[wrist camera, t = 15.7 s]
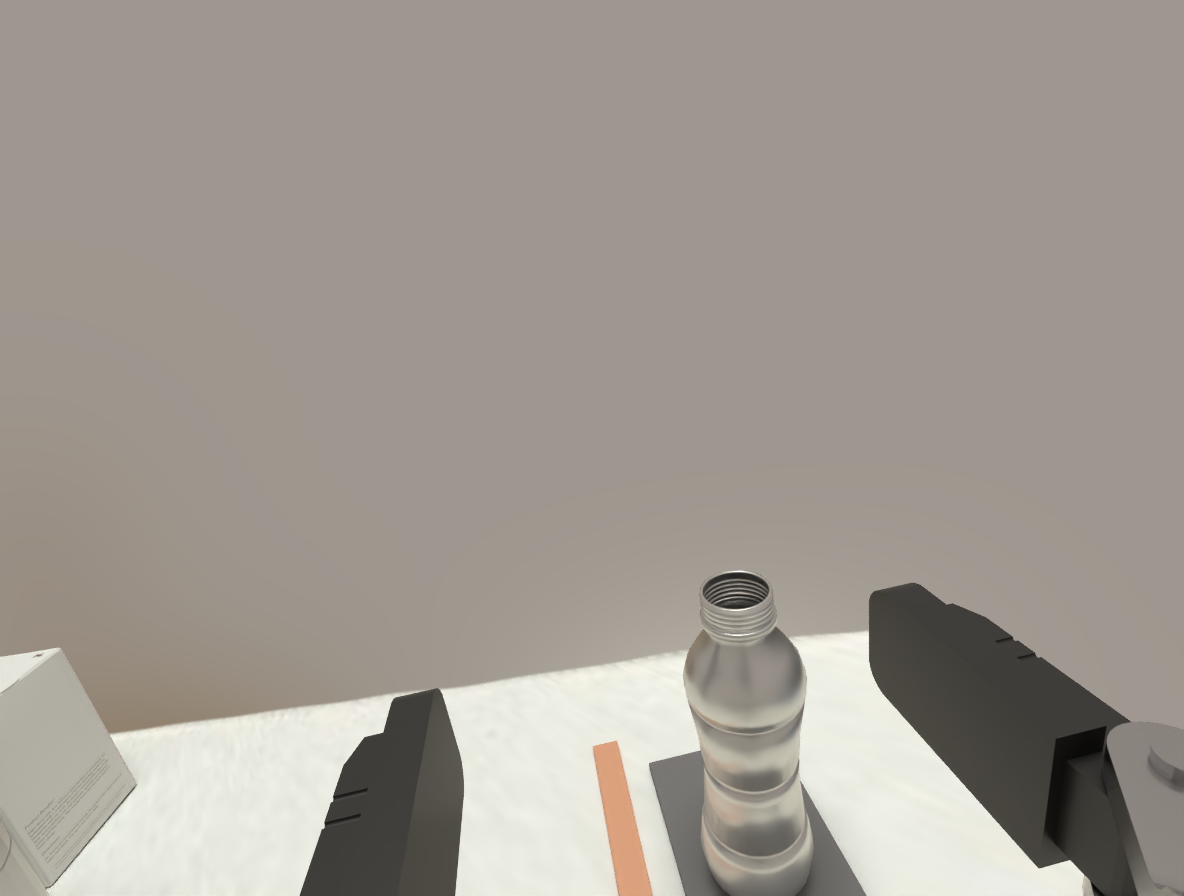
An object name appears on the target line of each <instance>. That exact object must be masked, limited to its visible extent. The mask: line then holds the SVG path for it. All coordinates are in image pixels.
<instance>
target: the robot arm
mask: <svg viewBox="0 0 1184 896" xmlns="http://www.w3.org/2000/svg"><path fill="white" fill-rule="evenodd" d="M869 662H870V667H871V671H872V674H873V677H874V679H875V681H876V683H877V685H878V687H879V689H880V690H881V692H882V693H883V694H884V696H885V697H886V698H887V699H888V700H889V701H890V702H891V703H892V705H893V706H894V707H895V708H896V709H897V710H898V711H899V712H900V714H901V715H902V716H903V717H904V718H905V719H906V720H907V721H908V723H909V724H910V725H911V726H912V727H913V728H914V729H915V730H916V731H917V733H918V734H919V735H920V736H921V737H922V738H923V739H924V740H925V742H926V743H927V744H928V745H929V746H930V747H931V748H932V749H933V751H934V752H935V753H936V754H937V755H938V756H939V757H940V758H941V759H942V761H943V762H944V763H945V764H946V765H947V766H948V767H949V768H950V770H951V771H952V772H953V773H954V774H955V775H956V776H957V777H958V779H959V780H960V781H961V782H962V783H963V784H964V785H965V786H966V788H967V789H968V790H969V791H970V792H971V793H972V794H973V795H974V796H975V798H976V799H977V800H978V801H979V802H980V803H981V804H982V805H983V807H984V808H985V809H986V810H987V811H988V812H989V813H990V814H991V816H992V817H993V818H994V819H995V820H996V821H997V822H998V823H999V824H1000V826H1001V827H1002V828H1003V829H1004V830H1005V831H1006V832H1007V833H1008V835H1009V836H1010V837H1011V838H1012V839H1013V840H1014V841H1015V842H1016V844H1017V845H1018V846H1019V847H1020V848H1021V849H1022V850H1023V851H1024V852H1025V854H1026V855H1027V856H1028V857H1029V858H1030V859H1031V860H1032V861H1033V863H1034V864H1035V865H1036V866H1037V867H1038V868H1042V867H1046V866H1050V865H1053V864H1057V863H1060V862H1064V861H1068V860H1071V861H1072V862H1073V863H1074V864H1075V865H1076V866H1077V868H1078V869H1079V870H1080V871H1081V872H1082V873H1083V874H1084V879H1083V886H1082V888H1083V896H1184V730H1182V729H1179V728H1176V727H1172V726H1168V725H1164V724H1158V723H1151V722H1131V721H1129V720H1128V719H1126V718H1125V717H1124V716H1122V715H1121V714H1119V713H1118V712H1117V711H1115V710H1114V709H1112V708H1111V707H1110V706H1108V705H1107V704H1106V703H1104V702H1103V701H1101V700H1100V699H1099V698H1097V697H1096V696H1094V695H1093V694H1092V693H1090V692H1089V691H1087V690H1086V689H1085V688H1083V687H1082V686H1081V685H1079V684H1078V683H1076V682H1075V681H1074V680H1072V679H1071V678H1069V677H1068V676H1067V675H1065V674H1064V673H1062V672H1061V671H1060V670H1058V669H1057V668H1055V667H1054V666H1052V665H1051V664H1050V663H1048V662H1047V661H1046V660H1044V659H1043V658H1041V657H1040V658H1038V657H1037V656H1036V655H1035V652H1033V651H1032V650H1030V649H1029V648H1027V647H1026V646H1024V645H1023V644H1022V643H1021V642H1019V641H1014V640H1013V637H1012V636H1011V635H1010V634H1008V633H1007V632H1005V631H1004V630H1003V629H1001V628H1000V627H998V626H997V625H996V624H994V623H993V622H991V621H990V620H989V619H987V618H986V617H984V616H981V615H979V614H976V613H974V612H972V611H969V610H967V609H965V608H962V607H960V606H957V605H955V604H948V605H946V604H945V603H944V602H942V601H941V600H940V599H938V598H937V597H936V596H934V595H933V594H932V593H930V592H929V591H928V590H926V589H925V588H924V587H922V586H921V585H919V584H916V583H909V584H904V585H900V586H895V587H891V588H887V589H882V590H878V591H874V592H873V593H872V594H871V596H870V599H869ZM463 797H464V779H463V768H462V762H461V757H460V753H459V749H458V746H457V743H456V739H455V736H454V732H453V729H452V726H451V722H450V719H449V715H448V712H447V709H446V705H445V702H444V698H443V695H442V693H441V691H440V690H439V689H438V688H436V689H432V690H427V691H423V692H418V693H414V694H410V695H405V696H401V697H396V698H394V699H393V701H392V703H391V707H390V710H389V714H388V717H387V721H386V725H385V728H384V732H383V733H381V734H376V735H372V736H368V737H364V739H363V740H362V741H361V743H360V744H359V745H358V747H357V748H356V750H355V751H354V752H353V754H352V755H351V756H350V758H349V759H348V760H347V762H346V763H345V764H344V766H343V768H342V771H341V774H340V777H339V780H338V783H337V786H336V789H335V792H334V795H333V799H334V800H333V802H331V804H330V807H329V810H328V813H327V816H326V819H325V822H324V823H325V828H324V829H322V831H321V834H320V837H319V840H318V843H317V846H316V849H315V852H314V855H313V858H312V860H311V863H310V866H309V869H308V872H307V875H306V878H305V881H304V884H303V887H302V890H301V893H300V896H455V890H456V878H457V867H458V855H459V844H460V832H461V821H462V809H463ZM0 896H50V895H49V894H48V892H47V891H46V889H45V887H44V886H43V884H42V883H41V881H40V880H39V878H38V877H37V875H36V874H35V872H34V871H33V869H32V868H31V866H30V865H29V863H28V862H27V860H26V858H25V857H24V855H23V854H22V852H21V851H20V849H19V848H18V846H17V845H16V843H15V842H14V840H13V839H12V837H11V836H10V834H9V833H8V831H7V830H6V829H5V827H4V826H3V824H2V823H1V821H0Z"/></svg>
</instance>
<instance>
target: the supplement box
mask: <svg viewBox="0 0 1184 896" xmlns="http://www.w3.org/2000/svg"><path fill="white" fill-rule="evenodd" d="M135 785H136V781H135V780H134V778H133V776H132V774H131V772H130V771H129V769H128V767H127V765H126V764H125V762H124V760H123V758H122V756H121V755H120V753H119V751H118V749H117V748H116V746H115V744H114V742H113V740H112V738H111V737H110V735H109V733H108V732H107V730H106V728H105V726H104V724H103V723H102V721H101V719H100V717H99V715H98V714H97V712H96V710H95V708H94V707H93V705H92V703H91V701H90V700H89V698H88V696H87V695H86V692H85V691H84V689H83V687H82V685H81V683H80V682H79V680H78V678H77V676H76V674H75V673H74V671H73V669H72V667H71V665H70V664H69V662H68V660H67V658H66V656H65V655H64V653H63V651H62V649H61V648H54V649H48V650H42V651H36V652H31V653H25V654H18V655H11V656H4V657H0V821H1V823H2V824H3V826H4V827H5V829H6V830H7V831H8V833H9V834H10V836H11V837H12V839H13V840H14V842H15V843H16V845H17V846H18V848H19V849H20V851H21V852H22V854H23V855H24V857H25V858H26V860H27V862H28V863H29V865H30V866H31V868H32V869H33V871H34V872H35V874H36V875H37V877H38V878H39V880H40V881H41V883H42V884H43V886H44V887H49V886H51V885H52V884H53V883H54V882H55V881H56V880H57V879H58V877H59V876H60V875H61V874H62V873H63V871H64V870H65V869H66V868H67V867H68V865H69V864H70V863H71V862H72V861H73V859H74V858H75V857H76V856H77V855H78V853H79V852H80V851H81V850H82V849H83V847H84V846H85V845H86V844H87V843H88V841H89V840H90V839H91V838H92V837H93V835H94V834H95V833H96V832H97V831H98V829H99V828H100V827H101V826H102V825H103V823H104V822H105V821H106V820H107V819H108V817H109V816H110V815H111V814H112V813H113V812H114V810H115V809H116V808H117V807H118V806H119V804H120V803H121V802H122V801H123V800H124V798H125V797H126V796H127V795H128V794H129V792H130V791H131V790H132V789H133V788H134V786H135Z"/></svg>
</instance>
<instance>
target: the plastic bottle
mask: <svg viewBox="0 0 1184 896" xmlns="http://www.w3.org/2000/svg"><path fill="white" fill-rule="evenodd" d="M700 602H701V610H700V619H701V625H702V627H703V630H702V631H701V633H700V634H699V635H698V637H697V638H696V640H695V641H694V643H693V644H692V646H691V648H690V650H689V652H688V654H687V658H686V662H685V666H684V672H683V679H684V686H685V690H686V696H687V699H688V702H689V706H690V709H691V713H692V716H693V719H694V723H695V726H696V730H697V733H698V737H699V742H700V748H701V754H702V759H703V766H704V804H703V809H702V820H701V843H702V848H703V851H704V854H705V857H706V860H707V863H708V866H709V869H710V871H711V873H712V875H713V877H714V878H715V880H716V882H717V883H718V884H719V885H720V886H721V888H722V889H723V890H724V891H726V892H727V893H728V894H729V895H730V896H795V895H796V894H797V893H798V892H800V891H801V889H802V887H803V886H804V884H805V883H806V880H807V877H808V875H809V871H810V867H811V862H812V858H813V849H814V846H813V836H812V831H811V827H810V822H809V818H808V815H807V812H806V809H805V806H804V803H803V796H802V789H801V783H800V776H799V748H800V729H801V723H802V716H803V710H804V703H805V697H806V685H807V676H806V670H805V667H804V665H803V662H802V660H801V657H800V655H799V653H798V650H797V649H796V647H795V646H794V645H793V643H792V642H791V641H790V640H789V639H788V638H787V637H786V636H785V634H784V633H783V632H782V631H781V630H780V629H778V628H777V627H776V622H777V614H776V608H775V605H774V602H773V590H772V586H771V584H770V582H769V581H768V580H767V579H766V578H764V577H763V576H761V575H759V574H756V573H753V572H749V571H741V570H733V571H725V572H721V573H718V574H715V575H713V576H711V577H709V578H708V579H707V580H705V581H704V583H703V584H702V585H701V587H700Z"/></svg>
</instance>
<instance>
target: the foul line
mask: <svg viewBox="0 0 1184 896" xmlns="http://www.w3.org/2000/svg"><path fill="white" fill-rule="evenodd" d="M593 750H594V755H595V761H596V767H597V772H598V778H599V784H600V789H601V795H602V801H603V807H604V812H605V818H606V824H607V829H608V835H609V841H610V846H611V852H612V858H613V864H614V869H615V875H616V881H617V886H618V892H619V896H652V891H651V887H650V883H649V878H648V874H647V870H646V865H645V861H644V857H643V852H642V848H641V843H640V839H639V835H638V830H637V826H636V822H635V817H634V813H633V809H632V804H631V800H630V796H629V791H628V787H627V782H626V778H625V774H624V769H623V765H622V761H621V756H620V752H619V748H618V743H617V741H614V742H609V743H605V744H601V745H597V746H593Z"/></svg>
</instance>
